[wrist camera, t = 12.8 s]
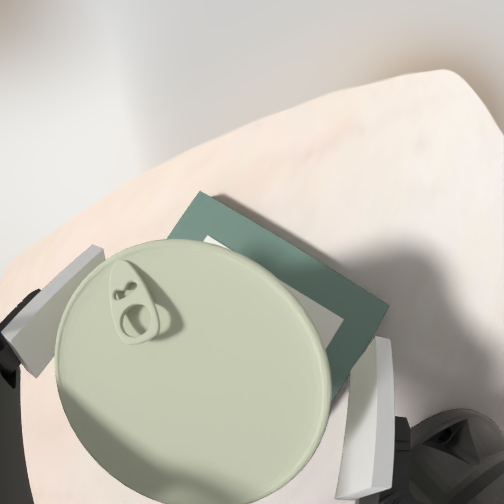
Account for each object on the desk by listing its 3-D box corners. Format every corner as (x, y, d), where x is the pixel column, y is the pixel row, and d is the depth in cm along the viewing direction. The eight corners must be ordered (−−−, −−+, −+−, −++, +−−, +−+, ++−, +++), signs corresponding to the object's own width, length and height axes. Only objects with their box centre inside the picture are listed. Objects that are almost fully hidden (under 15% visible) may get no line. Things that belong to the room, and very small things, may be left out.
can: (262, 257, 20) (245, 176, 8) (320, 379, 18) (382, 461, 6) (144, 312, 19) (17, 303, 8) (199, 428, 17) (125, 528, 6)
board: (381, 305, 20) (389, 305, 18) (265, 472, 18) (265, 482, 16) (204, 198, 23) (199, 190, 21) (102, 362, 20) (92, 364, 19)
